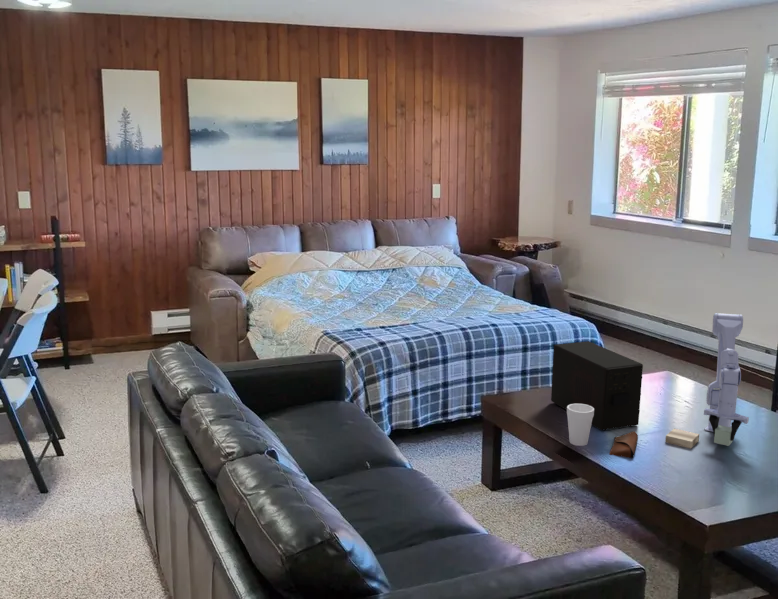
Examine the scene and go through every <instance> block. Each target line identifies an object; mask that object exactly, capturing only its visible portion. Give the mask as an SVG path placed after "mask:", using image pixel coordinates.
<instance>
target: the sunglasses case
mask: <svg viewBox="0 0 778 599" xmlns="http://www.w3.org/2000/svg"><path fill="white" fill-rule="evenodd" d="M638 439H639V436H638V433H637V432H636V431H634V430H633V431H630V432H627V433H625V434H622V435H619V436H615V437H614V440H613V443H612V446H611V449H610V450H609V455H610V456H616V457H623V458H627V459H633V458H634V457H635V453H636V448H637V444H638V441H639V440H638Z"/></svg>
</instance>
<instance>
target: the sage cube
mask: <svg viewBox="0 0 778 599" xmlns="http://www.w3.org/2000/svg"><path fill="white" fill-rule="evenodd" d="M731 430H732V428H730V427H726V426H721V425H719V426H718V427H717V428H716V429H715V437H714V436H713V437H714V438H713V443H714V444H718V445H724V446H727V447H729V446H730V445H731V444H732V443H733V441H734V440H733V441H730V438H731Z"/></svg>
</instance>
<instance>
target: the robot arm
mask: <svg viewBox="0 0 778 599" xmlns="http://www.w3.org/2000/svg"><path fill="white" fill-rule="evenodd" d="M743 316H744V315H743V314H740V313H739V314H738V313H737V314H735V313H723V312H721V313H719V312H715V313H714V314H713V317H712V335H714V336H716V337H717V341H718V346H717V362H716V378H715V381H712V382H711V383H709V384H708V385H707V392H706V405H707V406H709V408H707V407H706V408H704V410H703V415H704V416H708V423H707V426H706V427H705V428H704V431H706V432H710V433H711V432H712V434H713V437H715V429H716V428H717V427H718V426H719V425H721V426H726V427H730V428H732V430H731V438H730V441H734V440H735V437H736V434H737V431H738V430H739V427H740V426H741V425H742V423H743V424H744V425H745V424H746V425H747V424H749V420H750V419H749V418H750V417H749V416H746V415H742V414H739V413H736V409H737V408H736V407H737V400H738V392H739V391H738V389H739V386H740V385H741V380H742V372H741V367H740V365H739V362H740V361H739V352H737V351H736V350H735V349H736V348H735V346H736V337H739V336H740V335H741V332H742V330H743V327H744V326H743V325H744V317H743Z"/></svg>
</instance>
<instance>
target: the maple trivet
mask: <svg viewBox="0 0 778 599" xmlns="http://www.w3.org/2000/svg"><path fill="white" fill-rule="evenodd" d="M699 441H700V433H697V432H690V431H687V430H684V429H678V428H673V429H672V430H671V431H669V432H668V433H667V434H666V435H665V440H664V442H665V443H666V444H671V445H675V446H679V447H682V448H687V449H692V448H693V447H694V446H696V444H698V442H699Z"/></svg>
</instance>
